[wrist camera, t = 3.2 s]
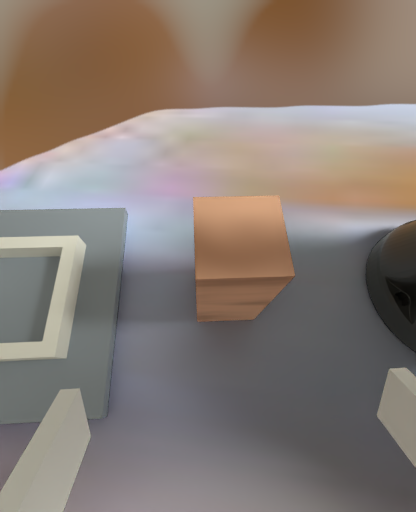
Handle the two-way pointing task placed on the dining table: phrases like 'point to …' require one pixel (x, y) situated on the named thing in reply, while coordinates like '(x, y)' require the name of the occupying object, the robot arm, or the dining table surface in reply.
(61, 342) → the baseplate
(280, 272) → the pillar
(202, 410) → the dining table surface
